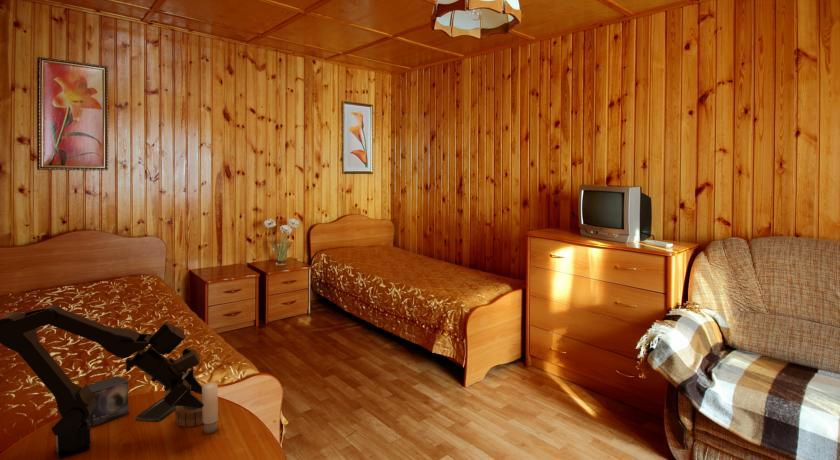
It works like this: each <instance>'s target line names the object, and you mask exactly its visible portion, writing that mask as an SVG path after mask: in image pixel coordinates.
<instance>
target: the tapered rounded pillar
mask: <svg viewBox="0 0 840 460" xmlns="http://www.w3.org/2000/svg"><path fill="white" fill-rule="evenodd" d="M201 386H202V394H201V399H202V403H203V404H204V406H203V407H202V422H203V423H204V424H203V431H204V433H205V434H213V433H215V432H216V431H217V430H218V429H217V426H218V424H217V421H218V420H219V403H218V402H219V400H218V399H219V398H218V397H219V396H218V391H219V390H218V389H219V388H218V383H215V382H209V383H208V382H207V383H204V384H202V385H201Z"/></svg>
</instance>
